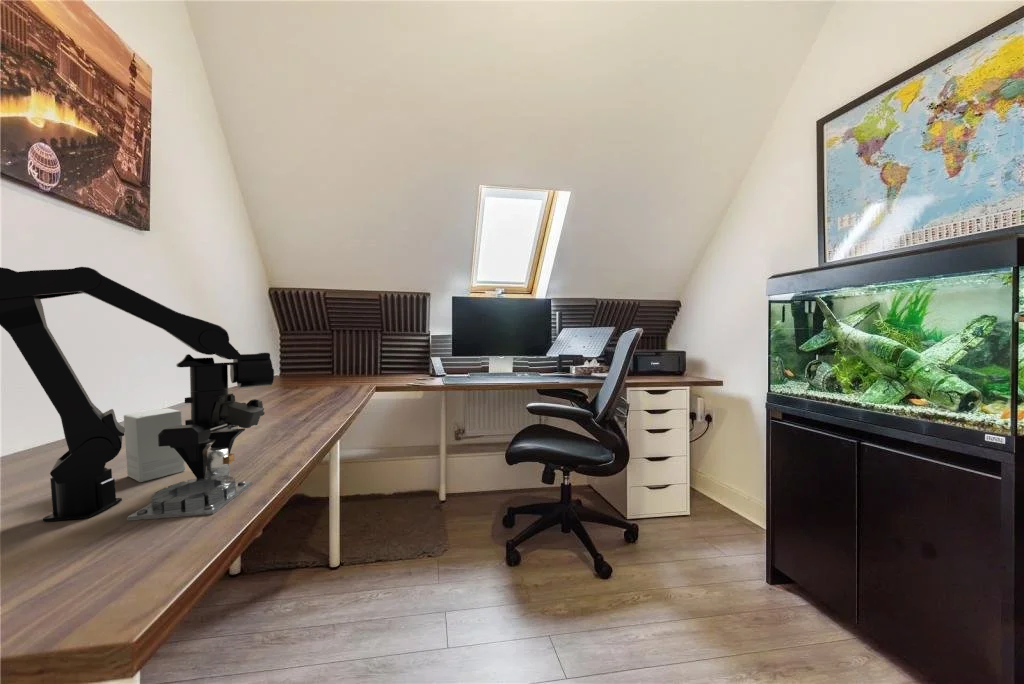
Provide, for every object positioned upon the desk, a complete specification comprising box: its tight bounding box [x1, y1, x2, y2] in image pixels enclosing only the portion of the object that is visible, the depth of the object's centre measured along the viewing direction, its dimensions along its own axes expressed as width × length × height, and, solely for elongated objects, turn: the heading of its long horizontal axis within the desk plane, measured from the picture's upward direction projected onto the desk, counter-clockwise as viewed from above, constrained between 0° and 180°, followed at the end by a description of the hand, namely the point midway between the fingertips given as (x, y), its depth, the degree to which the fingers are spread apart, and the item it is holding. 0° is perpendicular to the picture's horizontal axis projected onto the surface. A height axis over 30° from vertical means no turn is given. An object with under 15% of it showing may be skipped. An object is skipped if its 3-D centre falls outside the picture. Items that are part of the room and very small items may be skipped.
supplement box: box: [123, 407, 186, 483], centre depth 81 cm, size 7×7×13 cm
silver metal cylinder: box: [205, 447, 236, 478], centre depth 76 cm, size 5×4×6 cm
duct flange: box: [126, 475, 253, 521], centre depth 68 cm, size 12×12×2 cm
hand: (211, 473), depth 75 cm, fingers open, 6 cm apart
